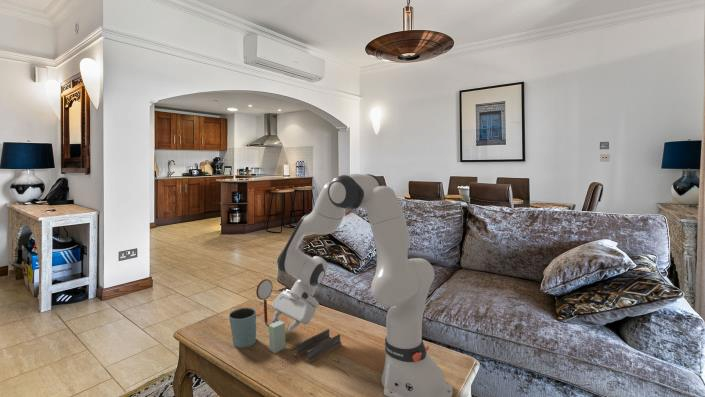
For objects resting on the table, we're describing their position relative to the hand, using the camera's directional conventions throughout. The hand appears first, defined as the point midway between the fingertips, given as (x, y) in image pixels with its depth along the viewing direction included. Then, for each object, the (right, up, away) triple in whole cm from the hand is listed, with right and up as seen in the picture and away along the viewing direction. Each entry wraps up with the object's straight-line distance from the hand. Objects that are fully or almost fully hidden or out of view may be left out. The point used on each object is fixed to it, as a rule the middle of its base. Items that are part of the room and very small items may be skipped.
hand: (281, 326), depth 133 cm
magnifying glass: (-10, -6, +19) cm, 22 cm away
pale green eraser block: (-1, -8, -1) cm, 8 cm away
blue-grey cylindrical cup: (-15, -8, +5) cm, 18 cm away
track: (+15, -8, -1) cm, 17 cm away
